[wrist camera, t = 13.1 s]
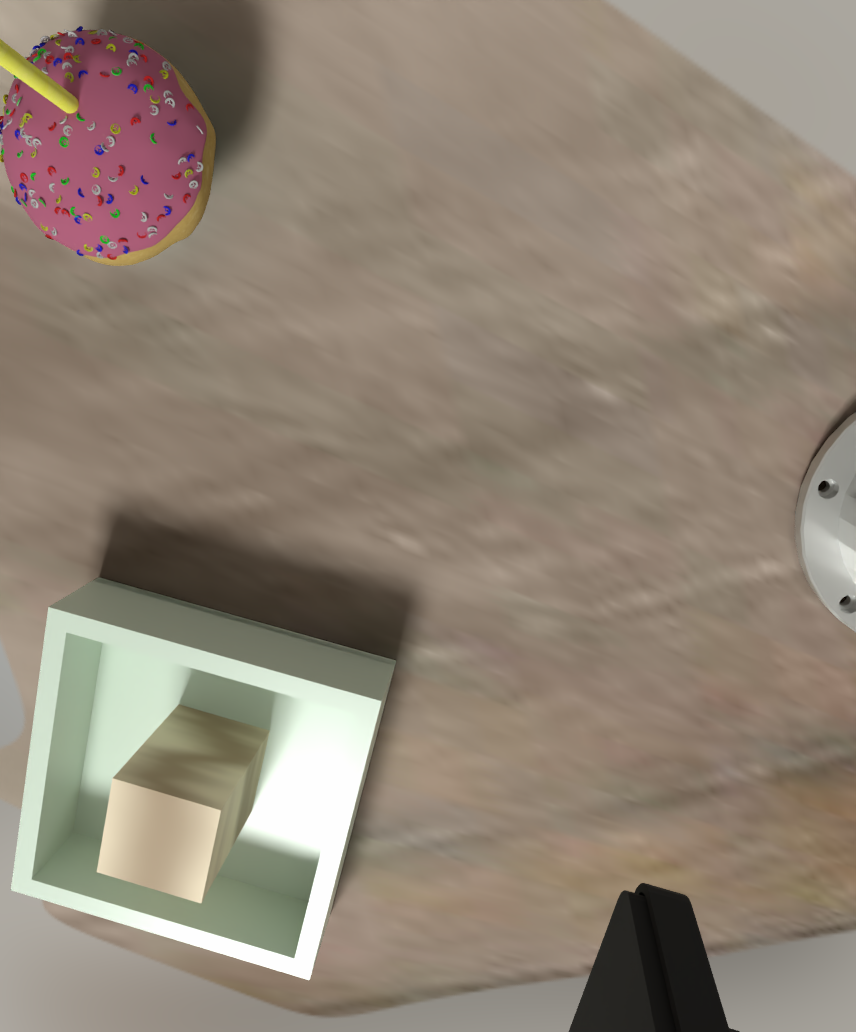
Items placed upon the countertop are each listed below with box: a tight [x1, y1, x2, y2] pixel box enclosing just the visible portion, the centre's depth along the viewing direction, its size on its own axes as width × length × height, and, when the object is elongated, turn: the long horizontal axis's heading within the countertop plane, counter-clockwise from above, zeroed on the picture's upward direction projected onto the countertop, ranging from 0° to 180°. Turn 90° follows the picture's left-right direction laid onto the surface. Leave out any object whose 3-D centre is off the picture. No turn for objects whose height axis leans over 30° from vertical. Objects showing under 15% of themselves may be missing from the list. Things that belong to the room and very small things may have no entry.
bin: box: [11, 577, 396, 980], centre depth 40 cm, size 16×16×4 cm
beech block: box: [97, 704, 270, 903], centre depth 38 cm, size 5×5×7 cm
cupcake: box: [0, 26, 216, 266], centre depth 30 cm, size 9×8×12 cm
